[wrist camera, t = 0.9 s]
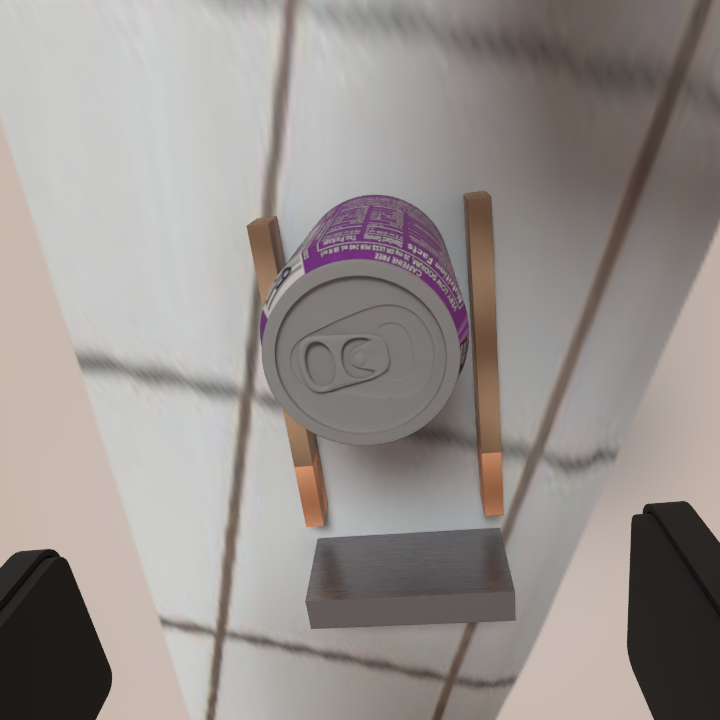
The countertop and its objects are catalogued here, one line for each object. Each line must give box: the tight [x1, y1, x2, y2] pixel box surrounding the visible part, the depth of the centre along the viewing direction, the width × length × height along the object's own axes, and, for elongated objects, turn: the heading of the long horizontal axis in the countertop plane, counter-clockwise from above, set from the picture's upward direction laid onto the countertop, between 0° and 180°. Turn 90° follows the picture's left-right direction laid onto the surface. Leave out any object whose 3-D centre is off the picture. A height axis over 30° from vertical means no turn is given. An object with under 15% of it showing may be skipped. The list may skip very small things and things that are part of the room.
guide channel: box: [247, 191, 516, 629], centre depth 30 cm, size 22×11×5 cm, turn 7°
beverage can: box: [260, 195, 469, 446], centre depth 23 cm, size 7×7×12 cm
